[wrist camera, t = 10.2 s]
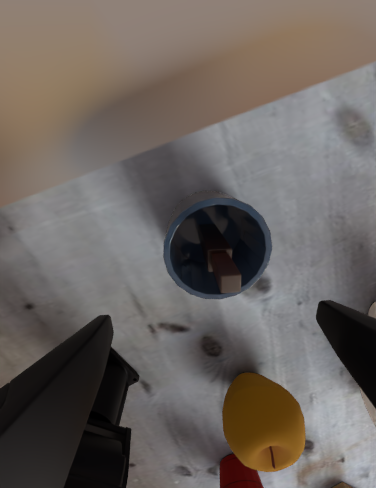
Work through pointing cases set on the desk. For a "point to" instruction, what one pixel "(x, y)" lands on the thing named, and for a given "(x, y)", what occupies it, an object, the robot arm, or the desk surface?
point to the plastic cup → (237, 474)
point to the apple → (263, 423)
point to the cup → (233, 230)
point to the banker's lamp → (342, 485)
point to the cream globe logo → (374, 413)
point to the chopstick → (219, 258)
